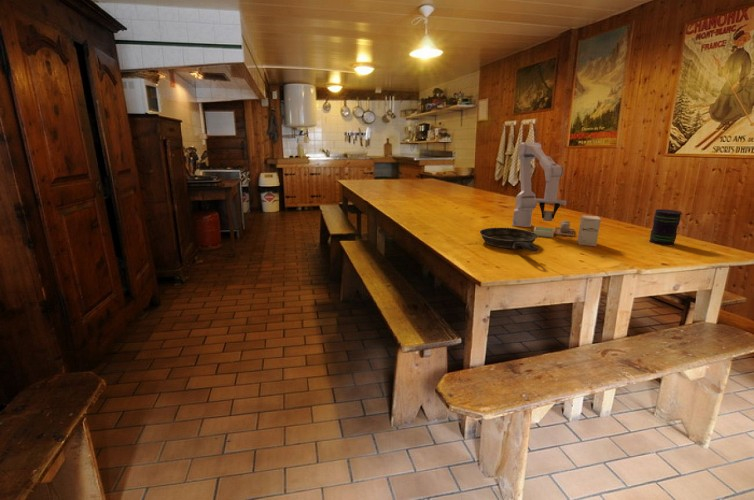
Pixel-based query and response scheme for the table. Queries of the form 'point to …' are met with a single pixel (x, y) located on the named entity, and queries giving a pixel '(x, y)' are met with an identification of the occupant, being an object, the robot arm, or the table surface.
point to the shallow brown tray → (570, 234)
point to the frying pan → (510, 238)
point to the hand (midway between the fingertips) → (547, 218)
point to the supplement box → (588, 230)
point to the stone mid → (565, 227)
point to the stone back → (565, 222)
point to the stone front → (548, 215)
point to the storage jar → (665, 227)
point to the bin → (544, 231)
